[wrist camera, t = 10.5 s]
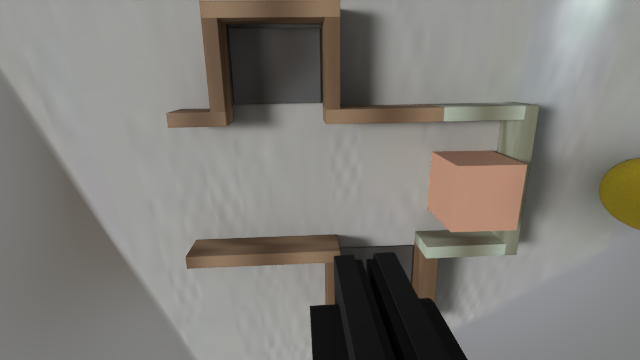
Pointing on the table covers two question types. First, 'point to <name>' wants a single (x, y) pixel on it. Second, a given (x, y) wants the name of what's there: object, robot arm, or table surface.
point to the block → (476, 190)
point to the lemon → (623, 192)
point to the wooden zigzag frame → (304, 87)
